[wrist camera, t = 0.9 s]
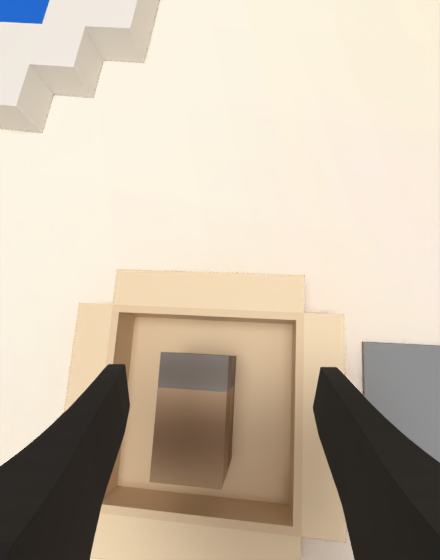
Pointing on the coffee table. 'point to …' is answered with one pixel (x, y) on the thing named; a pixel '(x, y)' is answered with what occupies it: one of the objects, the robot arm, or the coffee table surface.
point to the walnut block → (193, 420)
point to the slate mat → (406, 389)
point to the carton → (246, 420)
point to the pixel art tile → (63, 51)
